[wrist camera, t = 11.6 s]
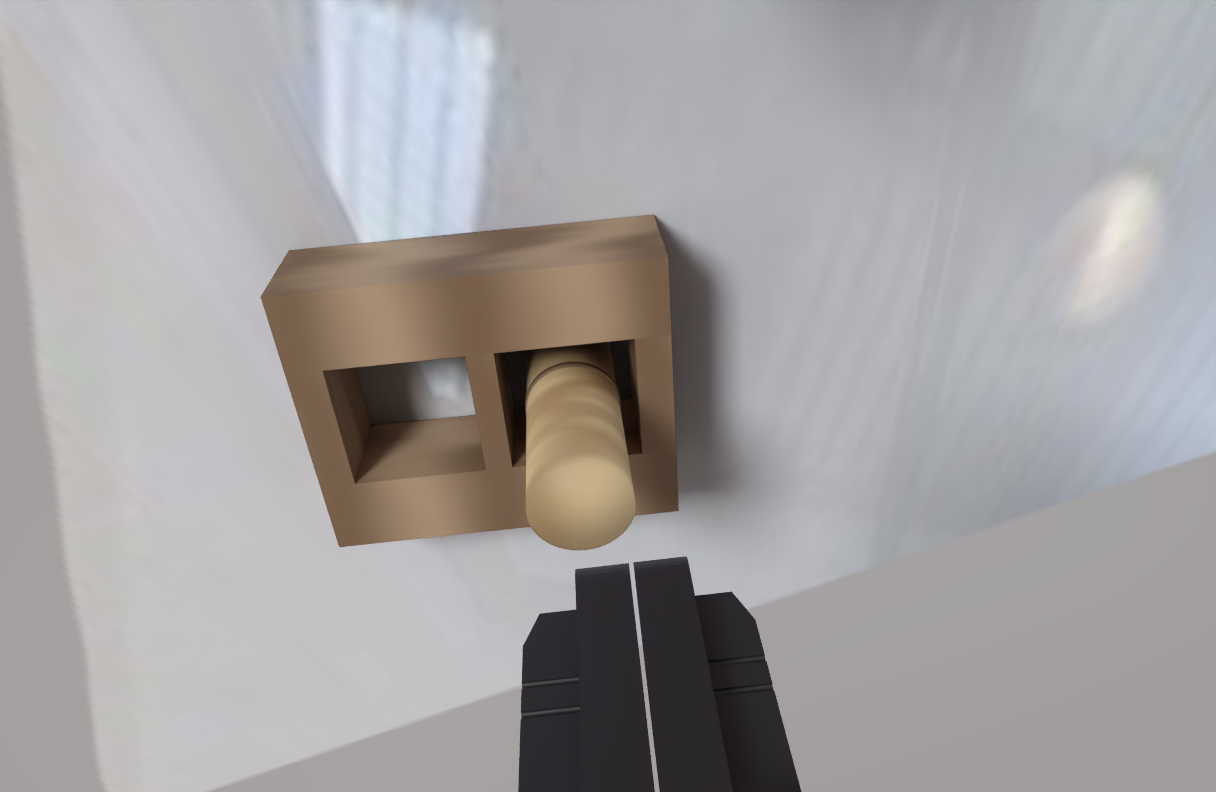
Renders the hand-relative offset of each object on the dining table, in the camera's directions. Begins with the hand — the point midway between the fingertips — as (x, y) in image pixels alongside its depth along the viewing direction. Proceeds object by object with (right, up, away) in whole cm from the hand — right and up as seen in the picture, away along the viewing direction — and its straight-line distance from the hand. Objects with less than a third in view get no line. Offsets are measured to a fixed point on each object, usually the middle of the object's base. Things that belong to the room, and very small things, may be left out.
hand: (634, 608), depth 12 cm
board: (-5, +4, +24) cm, 24 cm away
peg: (-2, +5, +24) cm, 24 cm away
